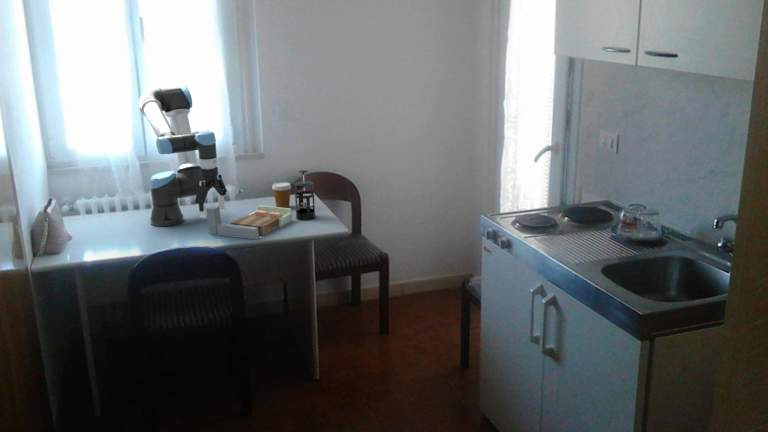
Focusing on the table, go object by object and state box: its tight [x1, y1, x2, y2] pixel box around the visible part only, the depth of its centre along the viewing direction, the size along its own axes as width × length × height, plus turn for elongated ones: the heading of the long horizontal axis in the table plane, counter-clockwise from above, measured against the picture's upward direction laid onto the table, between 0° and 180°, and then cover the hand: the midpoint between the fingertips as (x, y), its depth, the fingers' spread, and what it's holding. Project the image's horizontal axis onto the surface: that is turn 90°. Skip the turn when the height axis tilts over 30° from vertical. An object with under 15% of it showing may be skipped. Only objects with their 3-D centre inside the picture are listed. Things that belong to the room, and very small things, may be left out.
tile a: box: [254, 209, 268, 217], centre depth 334 cm, size 5×5×3 cm
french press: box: [293, 169, 317, 222], centre depth 338 cm, size 12×9×23 cm
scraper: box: [206, 205, 260, 240], centre depth 316 cm, size 24×4×12 cm, turn 67°
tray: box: [248, 204, 293, 228], centre depth 335 cm, size 18×10×6 cm, turn 67°
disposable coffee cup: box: [271, 181, 292, 208], centre depth 357 cm, size 10×10×12 cm
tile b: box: [269, 212, 282, 224], centre depth 331 cm, size 5×5×3 cm
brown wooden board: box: [230, 214, 280, 236], centre depth 325 cm, size 17×13×4 cm
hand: (212, 213), depth 320 cm, fingers open, 13 cm apart
